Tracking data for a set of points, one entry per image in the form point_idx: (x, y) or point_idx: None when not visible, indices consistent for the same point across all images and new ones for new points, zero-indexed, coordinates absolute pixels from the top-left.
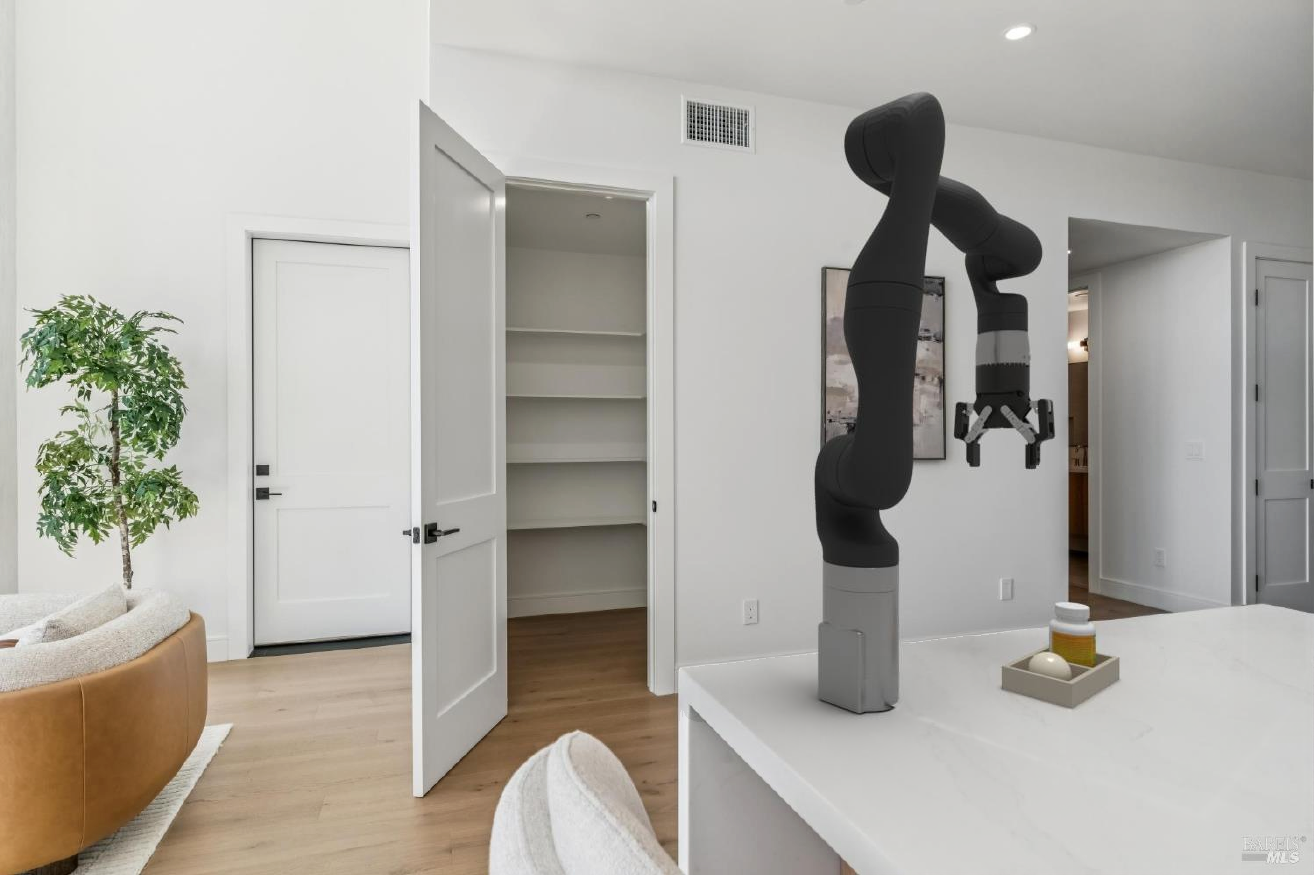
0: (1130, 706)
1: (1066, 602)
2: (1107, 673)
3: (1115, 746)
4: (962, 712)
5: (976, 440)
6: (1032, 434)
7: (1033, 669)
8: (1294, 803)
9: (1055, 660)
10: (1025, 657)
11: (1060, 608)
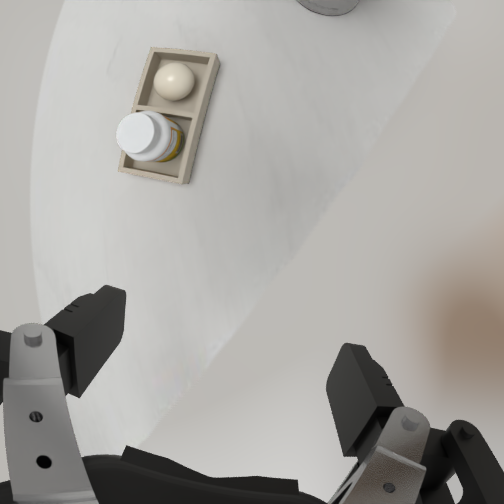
0: (119, 109)
1: (142, 147)
2: None
3: (131, 19)
4: (240, 4)
5: (365, 452)
6: (11, 352)
7: (186, 65)
8: (59, 23)
9: (163, 68)
10: (199, 99)
11: (147, 115)
